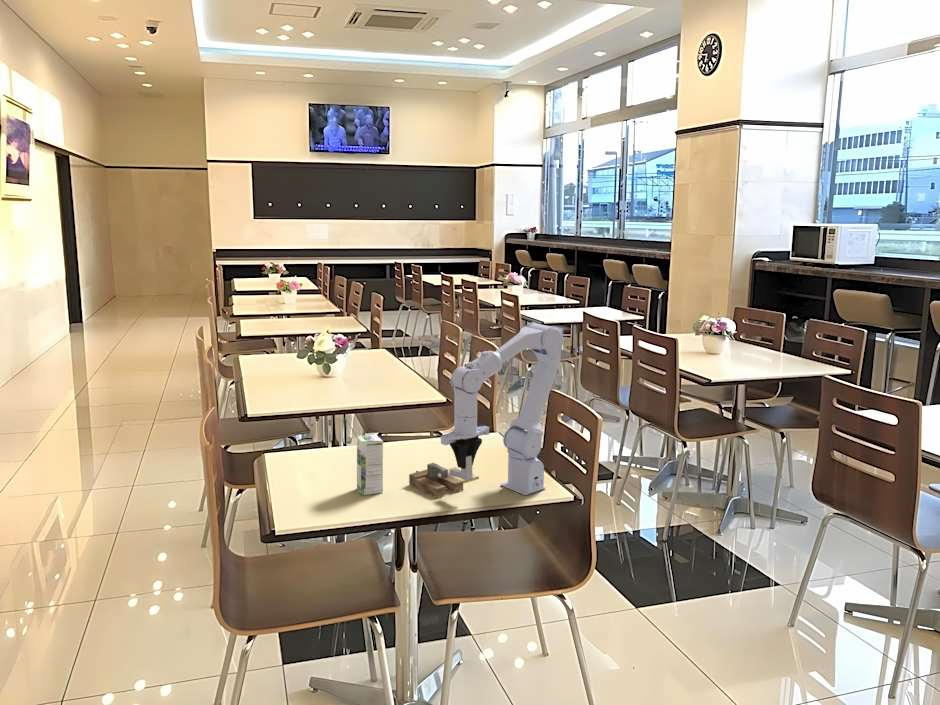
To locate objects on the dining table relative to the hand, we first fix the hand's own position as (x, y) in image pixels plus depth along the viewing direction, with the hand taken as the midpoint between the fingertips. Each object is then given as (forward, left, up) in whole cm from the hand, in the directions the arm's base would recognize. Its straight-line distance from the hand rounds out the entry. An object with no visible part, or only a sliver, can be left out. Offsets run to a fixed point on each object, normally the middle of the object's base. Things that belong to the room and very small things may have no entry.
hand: (465, 466), depth 196 cm
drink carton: (+20, +15, -9) cm, 27 cm away
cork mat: (+14, -9, -9) cm, 19 cm away
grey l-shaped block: (+2, 0, -3) cm, 4 cm away
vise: (+13, 0, -9) cm, 15 cm away
